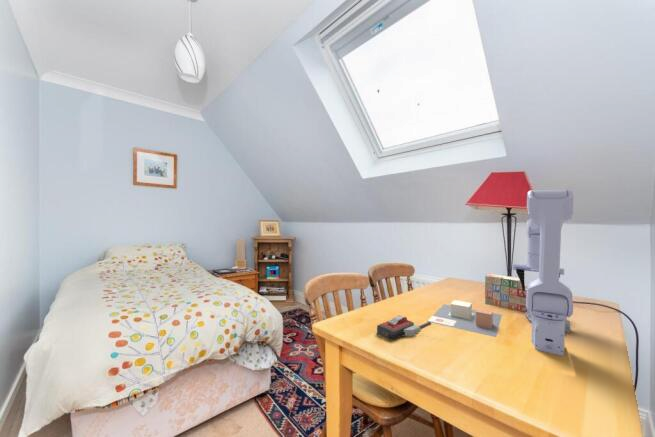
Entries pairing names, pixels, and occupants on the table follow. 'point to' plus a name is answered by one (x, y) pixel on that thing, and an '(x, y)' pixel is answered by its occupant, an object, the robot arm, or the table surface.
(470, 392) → the table surface
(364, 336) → the table surface
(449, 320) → the board
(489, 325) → the orange cube
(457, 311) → the cream base block
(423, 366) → the table surface
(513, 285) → the stack of blocks
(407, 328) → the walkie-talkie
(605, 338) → the table surface
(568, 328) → the stone block
